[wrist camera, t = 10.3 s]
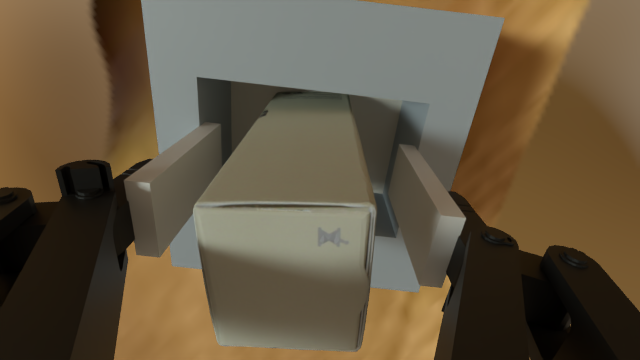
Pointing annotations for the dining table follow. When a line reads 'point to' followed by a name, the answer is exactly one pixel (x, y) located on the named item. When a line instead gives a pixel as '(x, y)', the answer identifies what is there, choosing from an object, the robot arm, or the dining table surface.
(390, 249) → the socket
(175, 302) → the dining table surface
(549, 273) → the robot arm
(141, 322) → the dining table surface
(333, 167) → the box
